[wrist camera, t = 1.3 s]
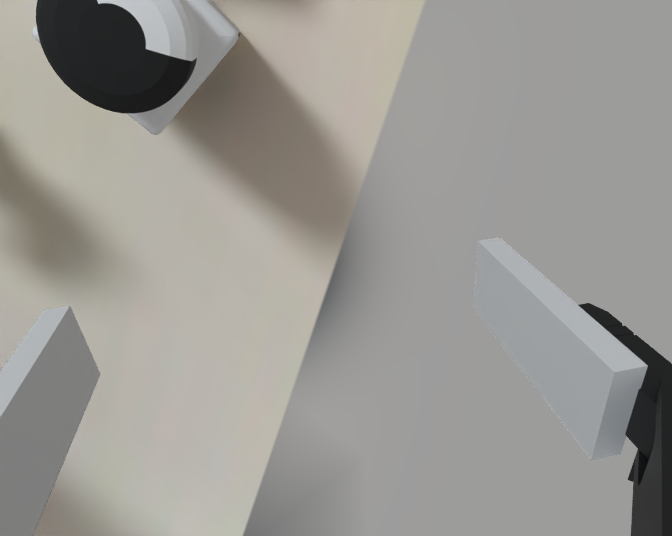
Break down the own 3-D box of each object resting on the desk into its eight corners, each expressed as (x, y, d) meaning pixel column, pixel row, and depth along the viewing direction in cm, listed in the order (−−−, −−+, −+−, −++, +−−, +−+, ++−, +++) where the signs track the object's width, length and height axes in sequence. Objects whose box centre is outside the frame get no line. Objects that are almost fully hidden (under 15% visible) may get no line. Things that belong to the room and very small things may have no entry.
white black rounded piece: (173, 115, 31) (136, 162, 21) (74, 31, 28) (-27, 37, 18) (242, 32, 30) (240, 39, 19) (146, -66, 27) (81, -122, 16)
